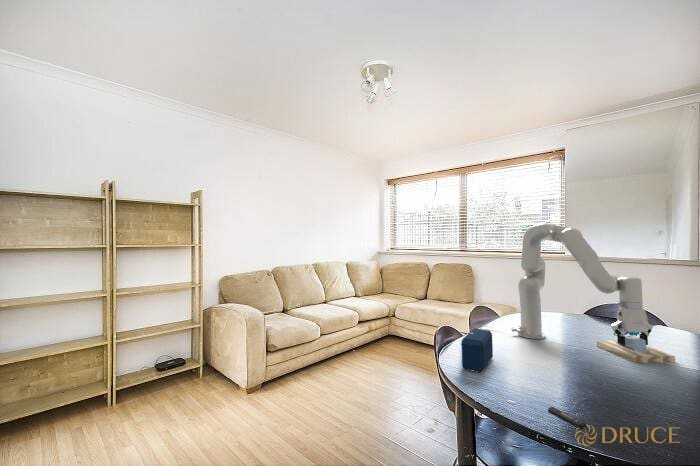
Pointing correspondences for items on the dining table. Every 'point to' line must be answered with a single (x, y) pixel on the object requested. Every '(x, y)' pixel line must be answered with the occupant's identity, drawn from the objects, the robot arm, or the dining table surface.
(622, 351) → the frame
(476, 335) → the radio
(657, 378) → the dining table surface
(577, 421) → the dark grey bar
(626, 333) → the blue toy dinosaur
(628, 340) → the block
